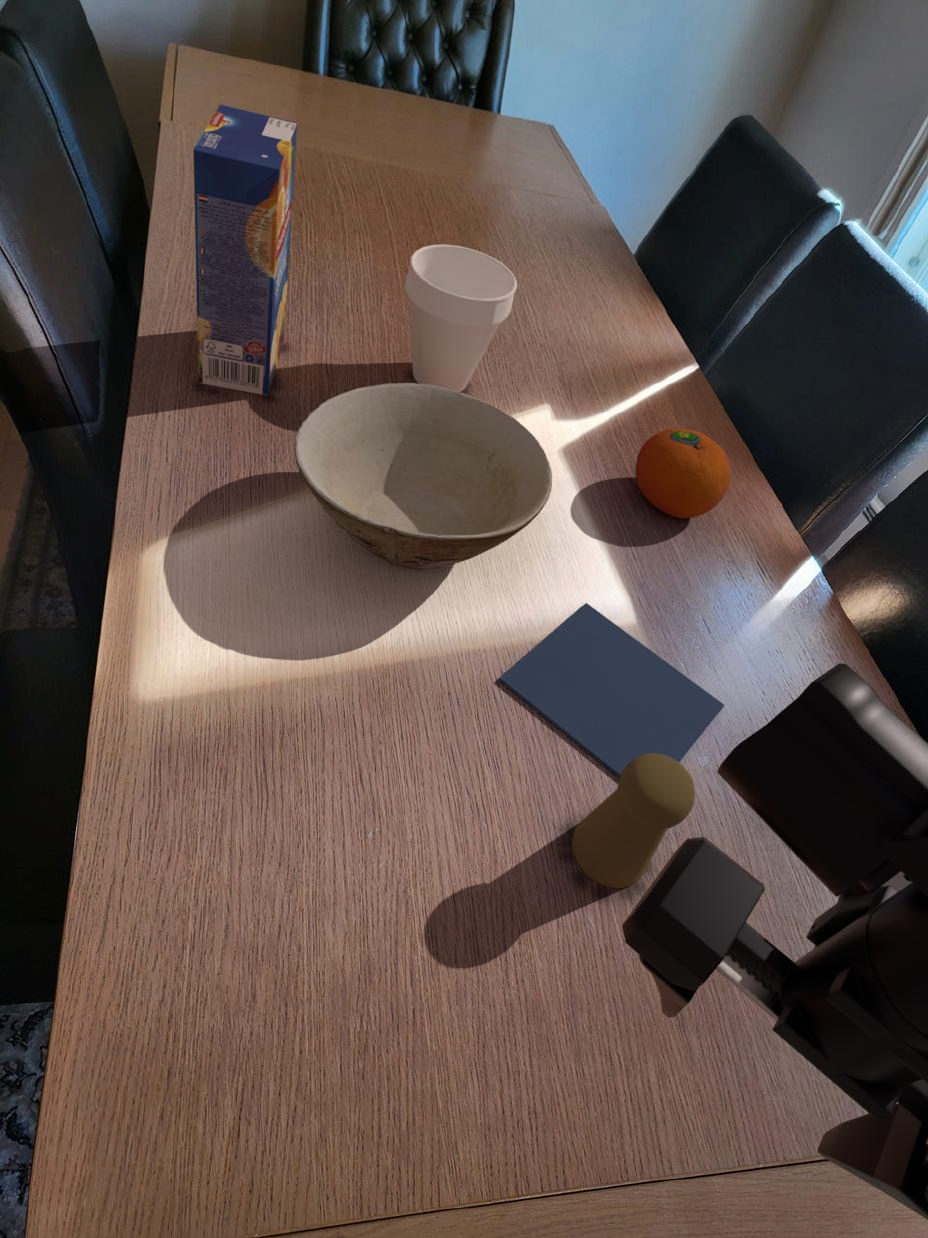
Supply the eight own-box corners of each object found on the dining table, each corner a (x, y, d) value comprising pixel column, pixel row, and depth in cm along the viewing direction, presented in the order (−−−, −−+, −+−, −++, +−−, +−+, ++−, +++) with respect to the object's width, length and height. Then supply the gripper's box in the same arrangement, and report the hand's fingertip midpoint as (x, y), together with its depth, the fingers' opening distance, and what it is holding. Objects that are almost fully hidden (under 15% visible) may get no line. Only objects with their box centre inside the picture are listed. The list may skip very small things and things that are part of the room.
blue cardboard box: (267, 396, 91) (279, 169, 74) (198, 383, 90) (193, 149, 73) (283, 339, 99) (297, 122, 82) (220, 326, 98) (220, 103, 81)
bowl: (263, 459, 84) (267, 375, 77) (473, 445, 94) (494, 369, 86) (325, 635, 71) (338, 552, 64) (562, 598, 81) (596, 522, 73)
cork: (635, 813, 66) (692, 739, 58) (656, 886, 62) (721, 818, 54) (564, 815, 65) (613, 739, 57) (581, 890, 61) (637, 820, 53)
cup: (448, 342, 107) (472, 238, 97) (508, 395, 102) (539, 291, 92) (370, 359, 101) (387, 249, 91) (430, 417, 96) (454, 307, 86)
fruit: (728, 521, 95) (762, 466, 89) (663, 540, 90) (694, 484, 84) (670, 463, 100) (699, 408, 94) (606, 478, 95) (631, 421, 89)
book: (723, 707, 76) (724, 705, 76) (647, 801, 67) (649, 799, 67) (584, 605, 81) (586, 602, 80) (498, 680, 72) (499, 677, 72)
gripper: (1213, 989, 33) (956, 1083, 44) (802, 696, 38) (668, 846, 50) (1187, 1258, 26) (890, 1287, 37) (691, 854, 31) (565, 986, 43)
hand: (743, 1074), depth 42 cm, fingers open, 9 cm apart
